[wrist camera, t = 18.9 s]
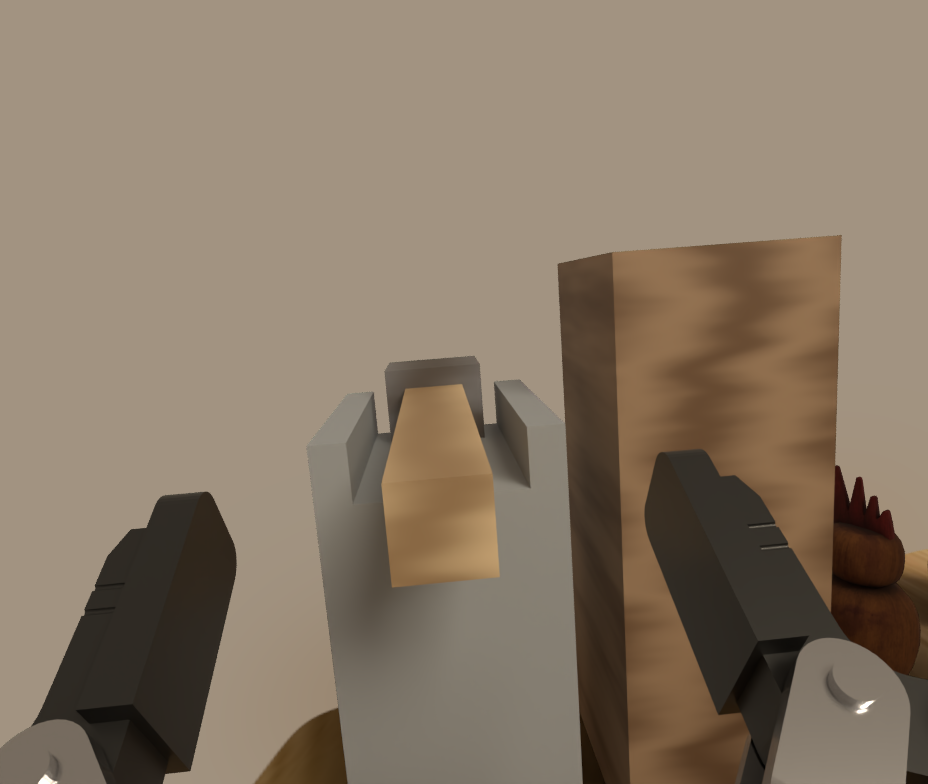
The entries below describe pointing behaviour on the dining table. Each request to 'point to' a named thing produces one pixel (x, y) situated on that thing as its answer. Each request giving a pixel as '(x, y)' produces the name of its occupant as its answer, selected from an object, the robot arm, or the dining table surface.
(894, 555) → the wooden figurine
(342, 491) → the grey post
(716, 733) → the walnut post
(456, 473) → the light wooden block
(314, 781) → the dining table surface
